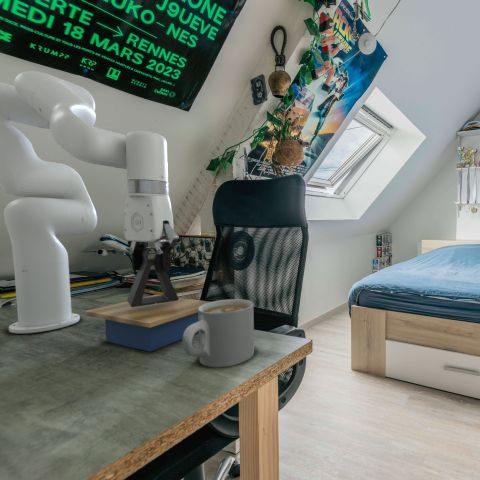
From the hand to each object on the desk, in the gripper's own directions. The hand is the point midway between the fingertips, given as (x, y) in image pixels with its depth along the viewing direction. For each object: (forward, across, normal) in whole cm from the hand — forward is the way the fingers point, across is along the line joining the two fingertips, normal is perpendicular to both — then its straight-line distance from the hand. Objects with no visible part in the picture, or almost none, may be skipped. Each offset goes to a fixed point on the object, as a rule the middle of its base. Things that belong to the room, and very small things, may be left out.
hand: (151, 269), depth 72 cm
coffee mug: (+16, +22, -3) cm, 27 cm away
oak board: (+9, 0, 0) cm, 9 cm away
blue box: (+15, 0, 0) cm, 15 cm away
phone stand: (+7, 0, 0) cm, 7 cm away
